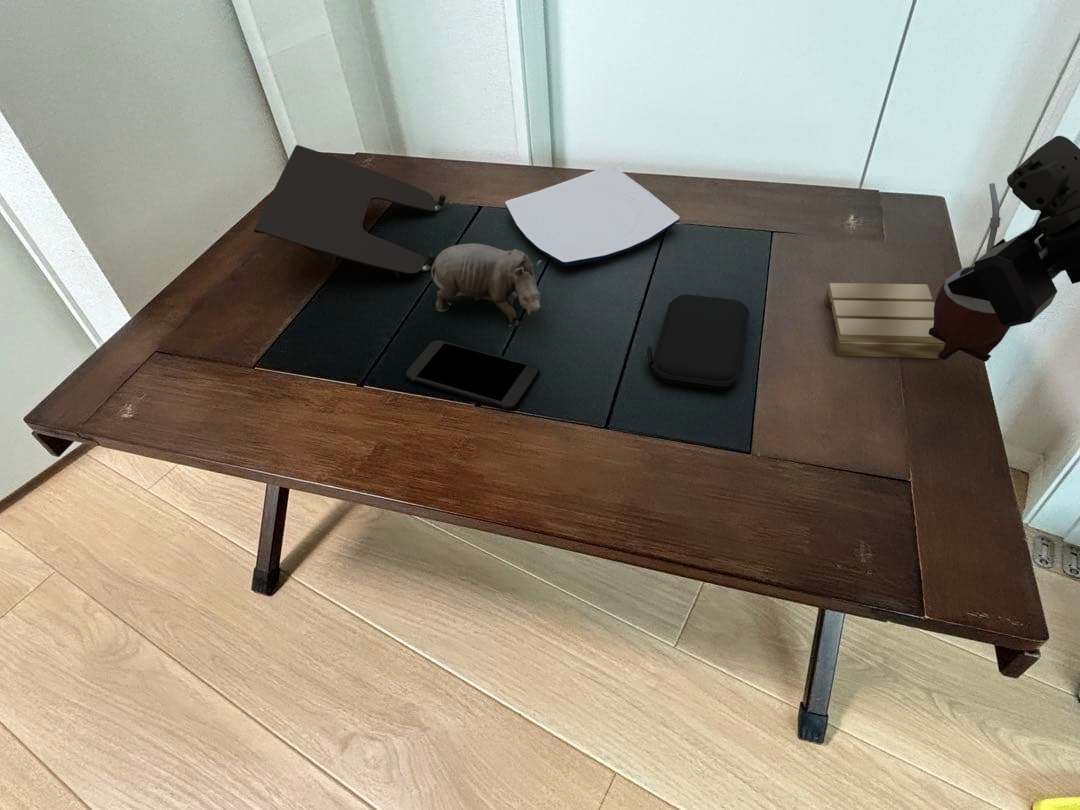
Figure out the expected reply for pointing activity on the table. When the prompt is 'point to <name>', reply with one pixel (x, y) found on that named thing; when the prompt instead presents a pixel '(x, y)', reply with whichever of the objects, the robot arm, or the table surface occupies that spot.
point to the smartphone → (473, 374)
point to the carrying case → (701, 342)
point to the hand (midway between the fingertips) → (967, 274)
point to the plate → (590, 217)
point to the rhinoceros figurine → (486, 277)
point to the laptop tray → (340, 211)
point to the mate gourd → (968, 312)
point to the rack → (883, 320)
